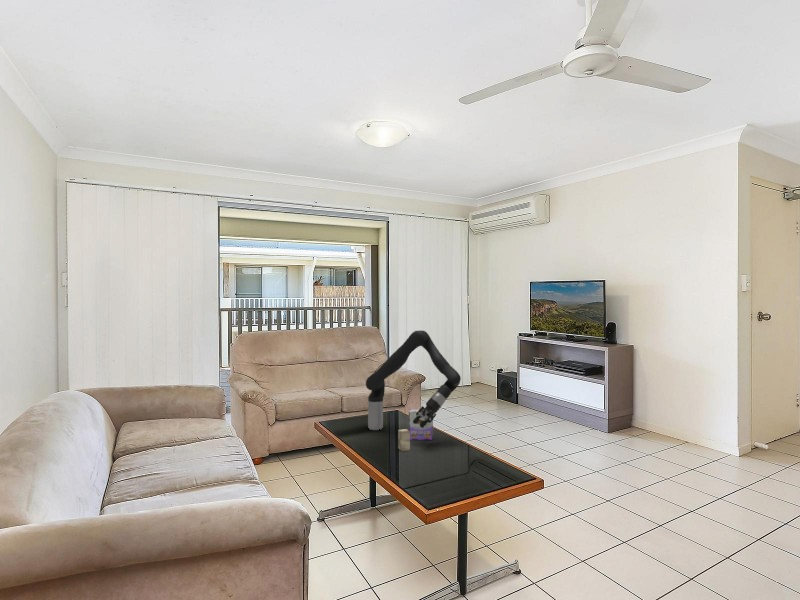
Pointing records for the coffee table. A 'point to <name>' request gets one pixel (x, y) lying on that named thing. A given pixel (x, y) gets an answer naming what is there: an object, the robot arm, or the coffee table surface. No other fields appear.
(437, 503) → the coffee table surface
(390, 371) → the robot arm
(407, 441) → the birch block
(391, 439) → the coffee table surface
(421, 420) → the candy box
